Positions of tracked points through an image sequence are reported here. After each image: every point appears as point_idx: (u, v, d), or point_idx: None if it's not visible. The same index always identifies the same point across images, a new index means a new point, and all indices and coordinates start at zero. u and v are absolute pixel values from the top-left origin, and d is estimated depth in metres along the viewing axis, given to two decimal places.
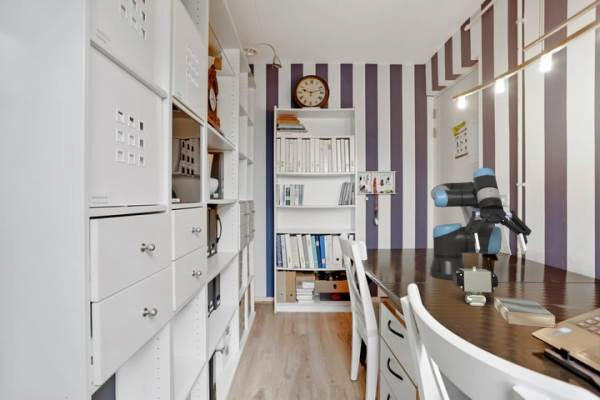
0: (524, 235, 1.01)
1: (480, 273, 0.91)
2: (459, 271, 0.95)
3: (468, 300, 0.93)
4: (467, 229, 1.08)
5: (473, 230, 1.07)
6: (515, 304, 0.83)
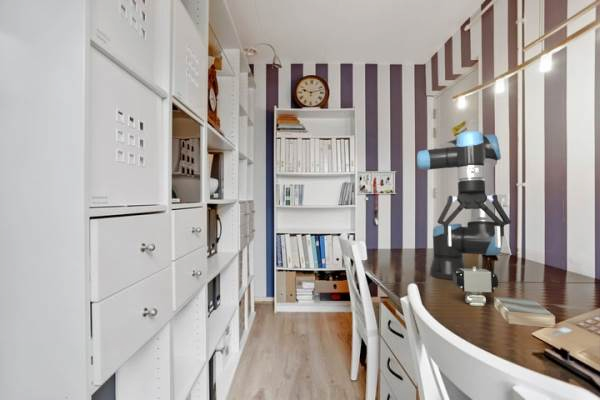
0: (502, 227, 0.91)
1: (480, 273, 0.91)
2: (459, 271, 0.95)
3: (468, 300, 0.93)
4: (441, 221, 0.97)
5: (447, 222, 0.96)
6: (515, 304, 0.83)
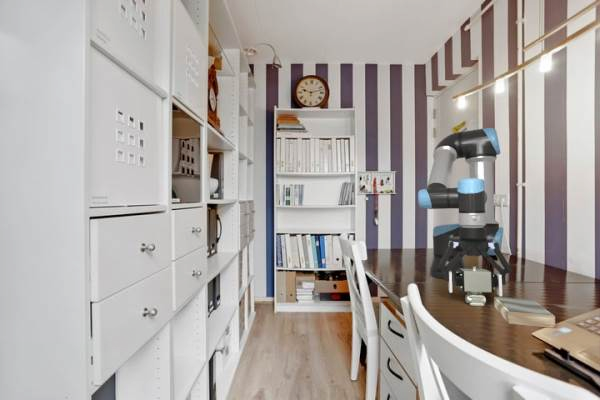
0: (503, 275, 0.91)
1: (480, 273, 0.91)
2: (459, 271, 0.95)
3: (468, 300, 0.93)
4: (441, 266, 0.96)
5: (448, 268, 0.95)
6: (515, 304, 0.83)
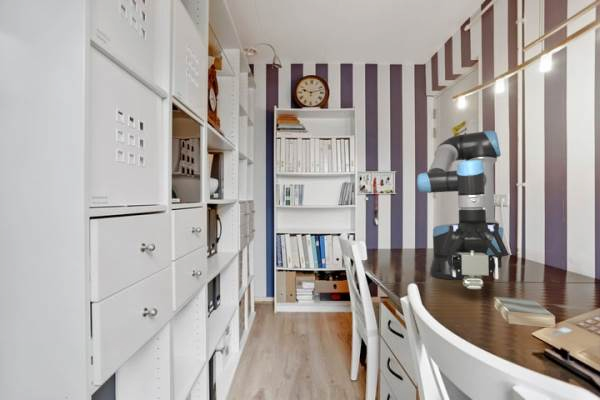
0: (499, 258, 0.92)
1: (478, 257, 0.92)
2: (457, 255, 0.95)
3: (465, 283, 0.94)
4: (444, 251, 0.96)
5: (451, 253, 0.96)
6: (515, 304, 0.83)
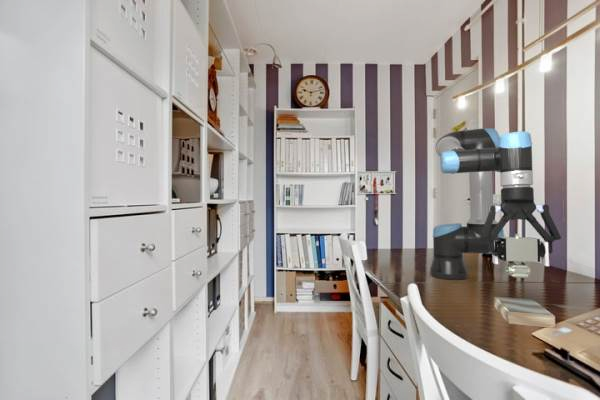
0: (550, 243, 0.80)
1: (525, 240, 0.81)
2: (499, 239, 0.84)
3: (510, 271, 0.83)
4: (485, 235, 0.85)
5: (492, 237, 0.85)
6: (515, 304, 0.83)
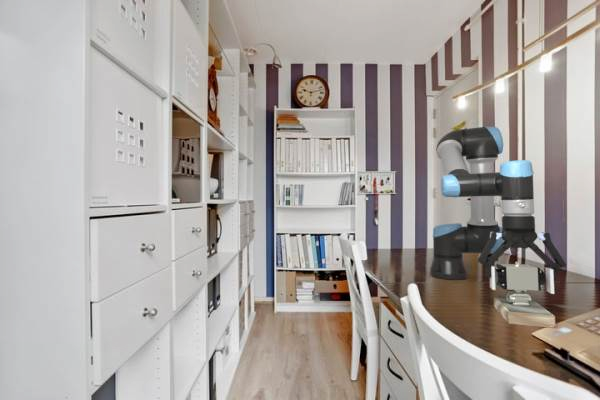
0: (555, 270, 0.80)
1: (525, 269, 0.81)
2: (500, 267, 0.84)
3: (511, 299, 0.83)
4: (482, 261, 0.85)
5: (490, 262, 0.85)
6: None
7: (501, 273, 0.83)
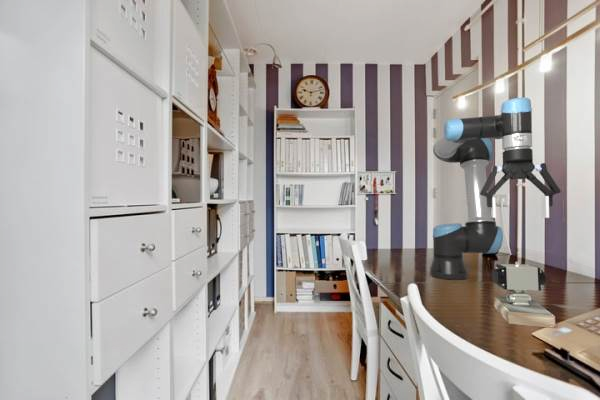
0: (550, 197, 0.88)
1: (525, 269, 0.81)
2: (500, 267, 0.84)
3: (511, 299, 0.83)
4: (484, 192, 0.94)
5: (491, 193, 0.93)
6: None
7: (501, 273, 0.83)
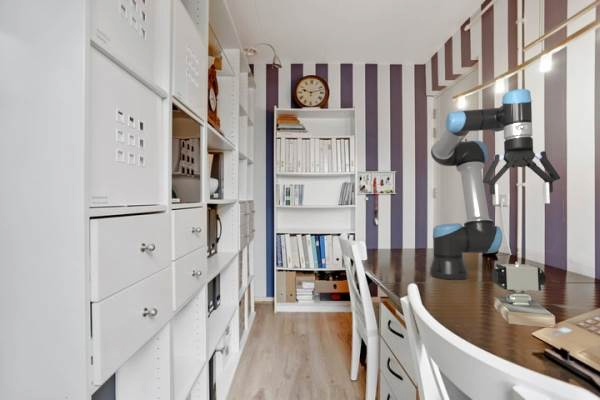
0: (550, 183, 0.92)
1: (525, 269, 0.81)
2: (500, 267, 0.84)
3: (511, 299, 0.83)
4: (487, 180, 0.98)
5: (494, 180, 0.97)
6: None
7: (501, 273, 0.83)
